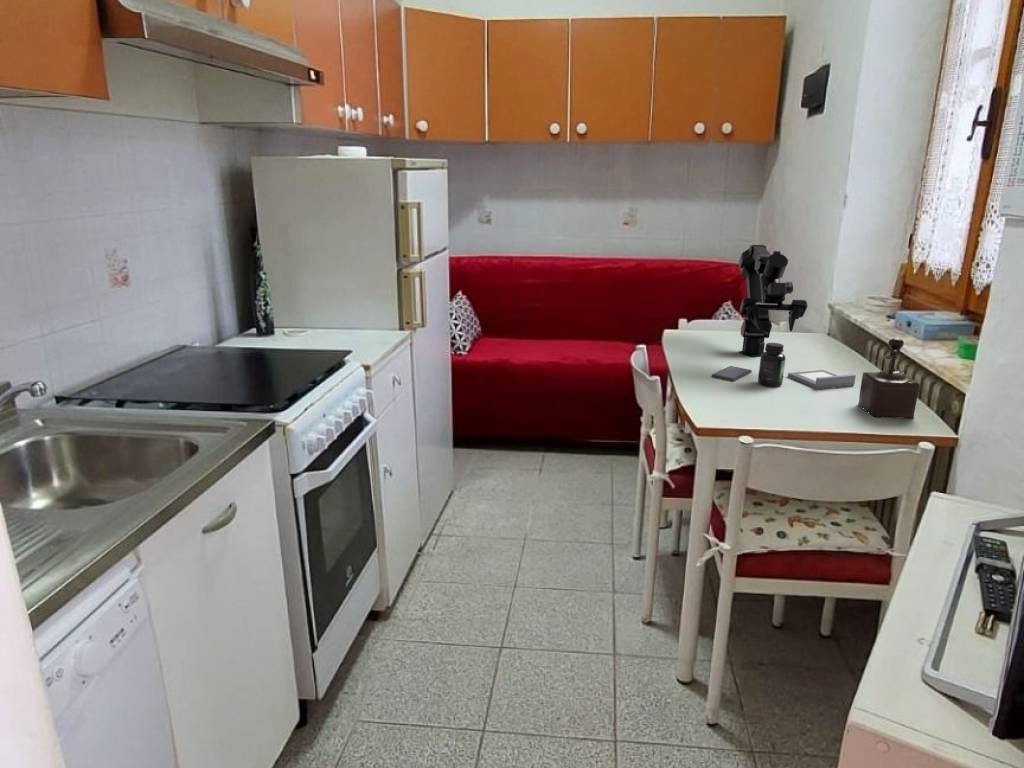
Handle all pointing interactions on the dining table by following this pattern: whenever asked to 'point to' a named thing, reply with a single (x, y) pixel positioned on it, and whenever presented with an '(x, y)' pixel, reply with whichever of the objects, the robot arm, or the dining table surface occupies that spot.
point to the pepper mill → (889, 389)
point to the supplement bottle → (772, 365)
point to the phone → (732, 373)
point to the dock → (822, 379)
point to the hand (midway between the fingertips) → (775, 330)
